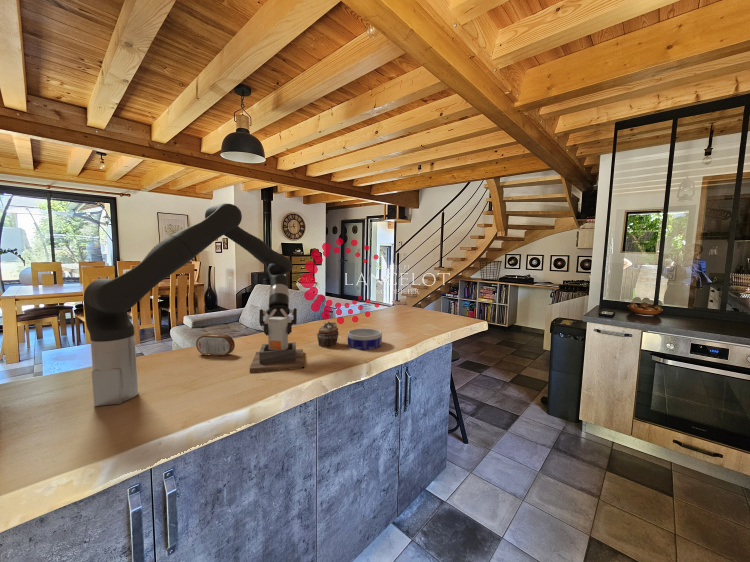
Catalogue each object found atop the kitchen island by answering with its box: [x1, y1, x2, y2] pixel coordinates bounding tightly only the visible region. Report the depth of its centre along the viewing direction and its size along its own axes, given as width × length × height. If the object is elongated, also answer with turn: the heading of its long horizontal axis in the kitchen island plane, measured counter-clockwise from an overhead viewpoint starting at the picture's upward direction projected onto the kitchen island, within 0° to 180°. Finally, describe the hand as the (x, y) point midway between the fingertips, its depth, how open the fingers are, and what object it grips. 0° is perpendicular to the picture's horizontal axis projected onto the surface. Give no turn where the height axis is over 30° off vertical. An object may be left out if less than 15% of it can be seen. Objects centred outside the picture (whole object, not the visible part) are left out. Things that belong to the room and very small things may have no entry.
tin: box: [195, 333, 236, 356], centre depth 122 cm, size 15×3×8 cm, turn 84°
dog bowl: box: [347, 327, 383, 351], centre depth 137 cm, size 15×15×6 cm
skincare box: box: [267, 317, 289, 351], centre depth 115 cm, size 6×4×12 cm
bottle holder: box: [249, 341, 305, 373], centre depth 115 cm, size 18×18×6 cm
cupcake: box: [316, 321, 340, 348], centre depth 137 cm, size 10×10×10 cm
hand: (277, 333), depth 113 cm, fingers closed on skincare box, 7 cm apart
